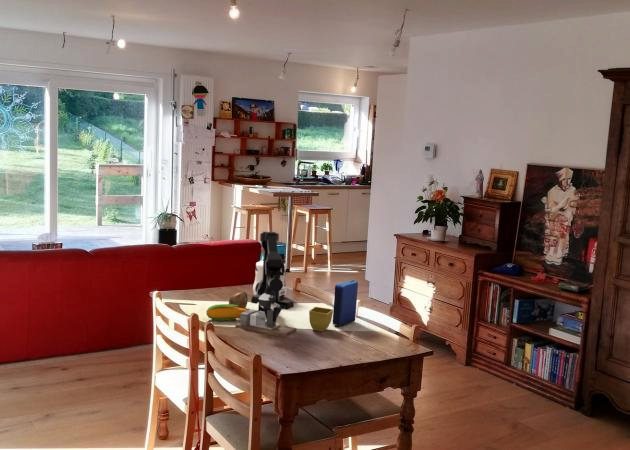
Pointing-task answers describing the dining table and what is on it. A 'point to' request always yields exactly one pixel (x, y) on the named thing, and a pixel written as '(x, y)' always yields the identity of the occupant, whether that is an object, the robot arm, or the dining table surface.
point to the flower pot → (320, 318)
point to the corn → (224, 312)
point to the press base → (278, 331)
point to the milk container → (259, 277)
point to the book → (345, 303)
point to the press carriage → (259, 320)
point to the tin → (239, 300)
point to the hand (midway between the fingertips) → (271, 320)
